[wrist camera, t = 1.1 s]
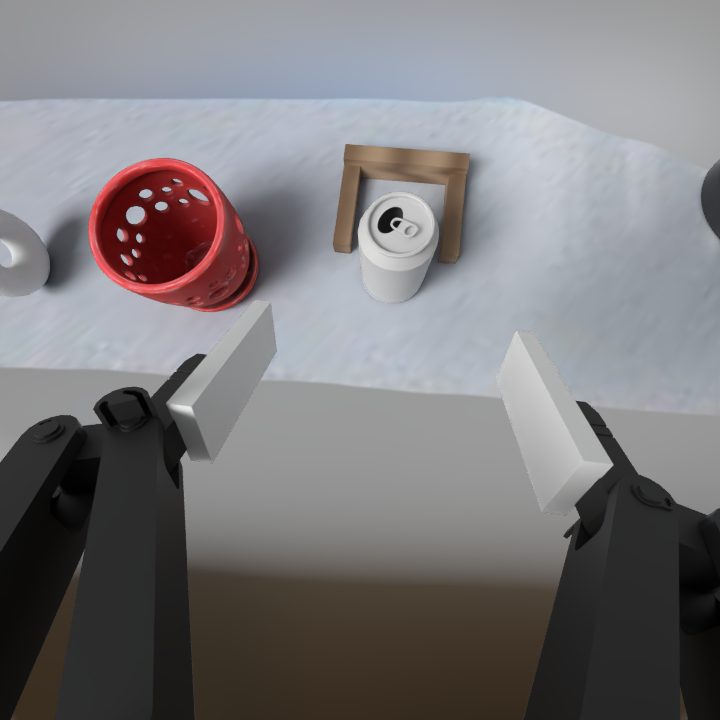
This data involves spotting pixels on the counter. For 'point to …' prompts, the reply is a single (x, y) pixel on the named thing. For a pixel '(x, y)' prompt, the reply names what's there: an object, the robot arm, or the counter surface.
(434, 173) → the walnut frame
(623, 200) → the counter surface
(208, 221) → the plant pot
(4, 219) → the donut
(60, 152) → the counter surface
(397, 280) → the can
